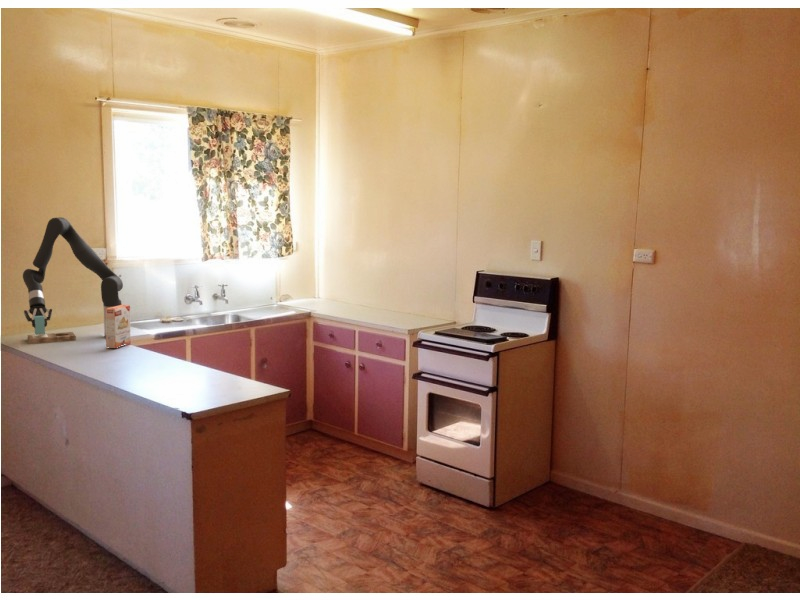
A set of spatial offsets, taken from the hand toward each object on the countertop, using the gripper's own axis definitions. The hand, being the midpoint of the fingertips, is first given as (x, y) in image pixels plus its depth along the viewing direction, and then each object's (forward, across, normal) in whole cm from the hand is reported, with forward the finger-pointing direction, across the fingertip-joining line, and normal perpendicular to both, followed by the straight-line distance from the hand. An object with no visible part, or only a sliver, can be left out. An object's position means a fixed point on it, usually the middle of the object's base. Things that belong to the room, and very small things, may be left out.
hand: (40, 326), depth 380 cm
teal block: (+1, 0, +4) cm, 4 cm away
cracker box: (+25, +34, -12) cm, 44 cm away
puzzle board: (+5, +6, +7) cm, 10 cm away
